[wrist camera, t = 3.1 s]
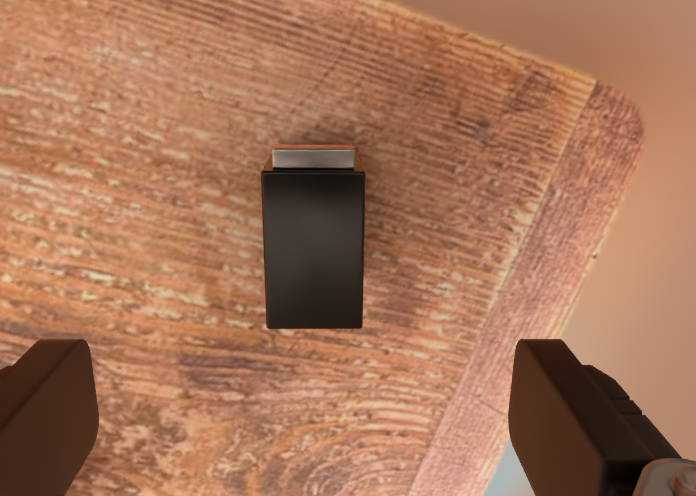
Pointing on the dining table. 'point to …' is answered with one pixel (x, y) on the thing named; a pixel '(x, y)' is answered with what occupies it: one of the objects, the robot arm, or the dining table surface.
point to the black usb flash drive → (313, 236)
